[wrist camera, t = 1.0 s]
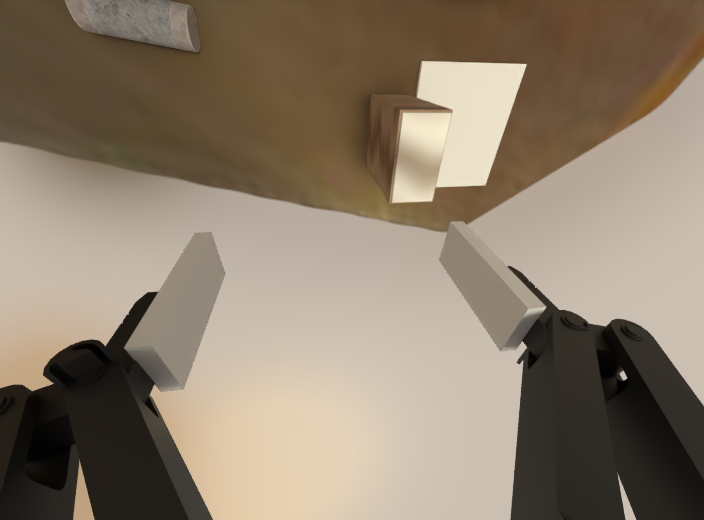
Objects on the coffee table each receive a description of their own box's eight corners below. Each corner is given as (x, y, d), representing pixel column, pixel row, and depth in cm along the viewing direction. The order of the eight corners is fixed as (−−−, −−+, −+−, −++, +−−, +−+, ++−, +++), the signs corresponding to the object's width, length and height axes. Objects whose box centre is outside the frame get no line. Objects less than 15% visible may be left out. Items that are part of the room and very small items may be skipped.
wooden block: (370, 94, 33) (401, 110, 23) (408, 94, 34) (454, 110, 24) (366, 165, 39) (389, 204, 28) (399, 164, 40) (433, 202, 29)
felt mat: (420, 61, 32) (422, 61, 32) (523, 64, 34) (526, 64, 33) (402, 186, 42) (403, 188, 41) (483, 183, 44) (485, 185, 43)
